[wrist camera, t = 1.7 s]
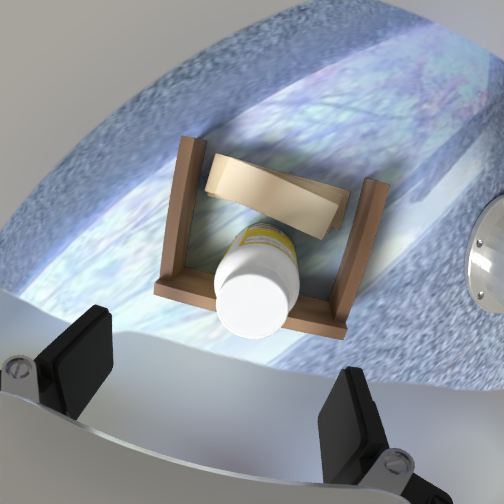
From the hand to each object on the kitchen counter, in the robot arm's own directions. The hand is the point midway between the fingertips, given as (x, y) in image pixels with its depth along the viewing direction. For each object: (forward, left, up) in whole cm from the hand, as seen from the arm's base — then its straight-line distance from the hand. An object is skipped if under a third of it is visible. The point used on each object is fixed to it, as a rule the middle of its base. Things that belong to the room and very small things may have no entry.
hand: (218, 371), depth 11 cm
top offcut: (-1, -5, -14) cm, 15 cm away
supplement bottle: (-1, 0, -16) cm, 16 cm away
